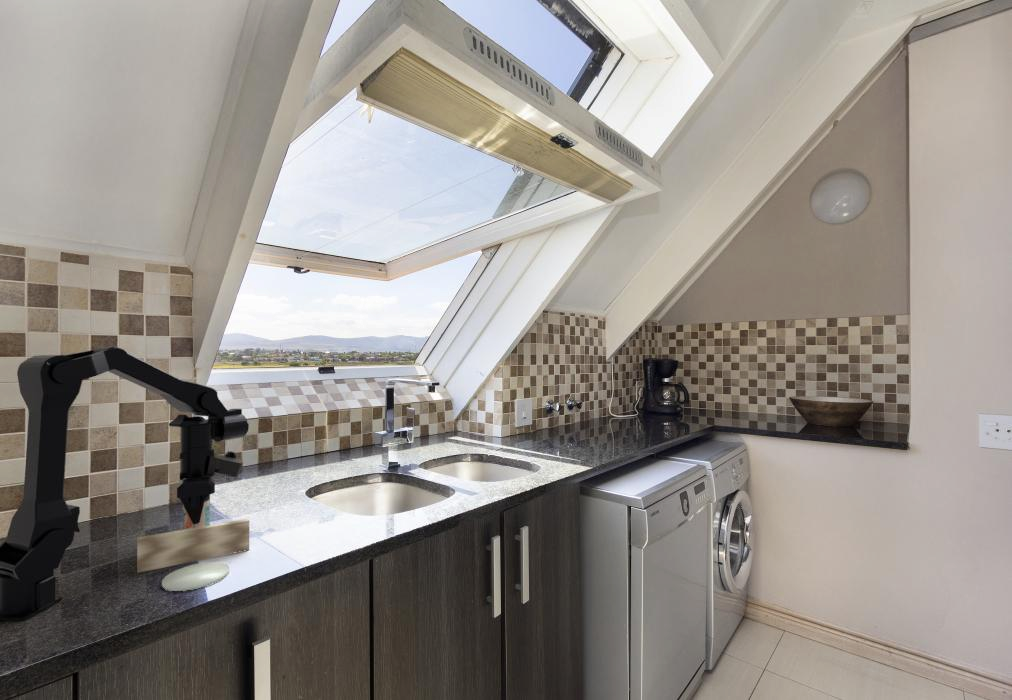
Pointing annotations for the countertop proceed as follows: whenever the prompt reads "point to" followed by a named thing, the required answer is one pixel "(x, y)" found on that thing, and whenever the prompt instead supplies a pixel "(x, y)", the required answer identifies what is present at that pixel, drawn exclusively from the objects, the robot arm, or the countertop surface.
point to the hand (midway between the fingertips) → (196, 520)
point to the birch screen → (191, 544)
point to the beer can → (203, 520)
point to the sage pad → (195, 576)
